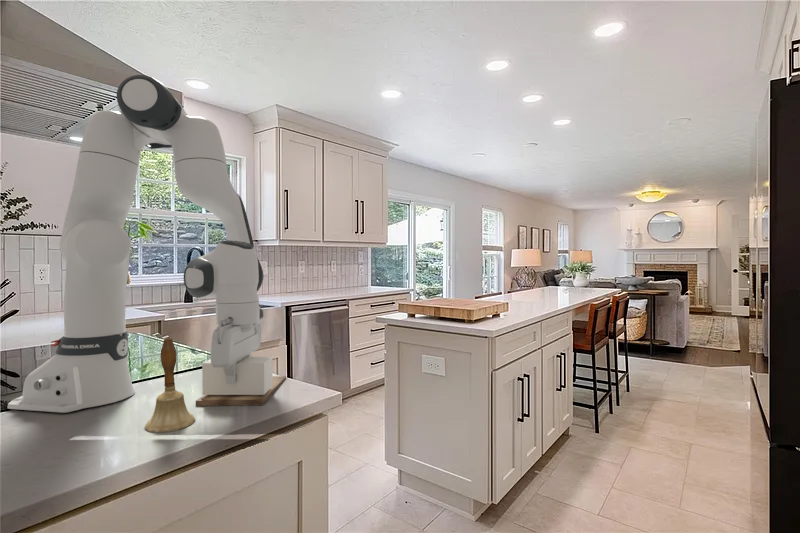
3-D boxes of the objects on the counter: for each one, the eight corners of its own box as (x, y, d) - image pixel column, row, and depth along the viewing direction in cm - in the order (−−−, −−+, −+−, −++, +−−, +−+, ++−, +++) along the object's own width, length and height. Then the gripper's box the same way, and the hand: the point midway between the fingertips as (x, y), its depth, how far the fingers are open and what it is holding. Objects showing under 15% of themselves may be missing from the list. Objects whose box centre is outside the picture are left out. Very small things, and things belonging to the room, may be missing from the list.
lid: (202, 394, 91) (202, 359, 91) (214, 386, 97) (214, 353, 97) (264, 394, 91) (264, 359, 91) (272, 386, 97) (272, 353, 97)
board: (195, 405, 90) (195, 399, 90) (230, 380, 109) (230, 375, 109) (262, 405, 90) (262, 398, 90) (286, 380, 109) (286, 374, 109)
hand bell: (174, 434, 75) (173, 343, 75) (133, 430, 77) (132, 341, 77) (204, 417, 83) (203, 335, 83) (167, 414, 85) (166, 333, 85)
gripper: (234, 321, 84) (234, 392, 84) (266, 309, 104) (266, 366, 104) (201, 321, 84) (202, 392, 84) (239, 309, 104) (240, 367, 104)
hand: (238, 378), depth 94 cm, fingers closed on lid, 6 cm apart
